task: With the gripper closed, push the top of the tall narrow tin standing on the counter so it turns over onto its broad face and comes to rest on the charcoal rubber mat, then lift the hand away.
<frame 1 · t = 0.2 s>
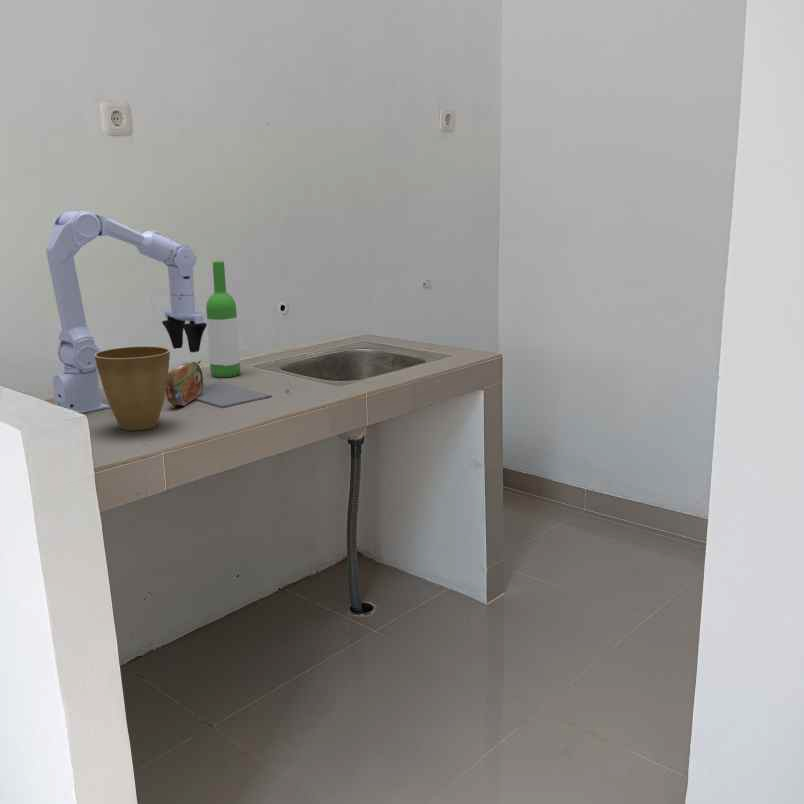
hand: (186, 349, 212), 10 cm above the worktop, tool pointing down, fingers open, 7 cm apart
mat: (220, 394, 208), on the worktop
plant pot: (139, 427, 182), on the worktop
wine bottle: (225, 375, 230), on the worktop
tin: (186, 401, 201), on the worktop, touching mat
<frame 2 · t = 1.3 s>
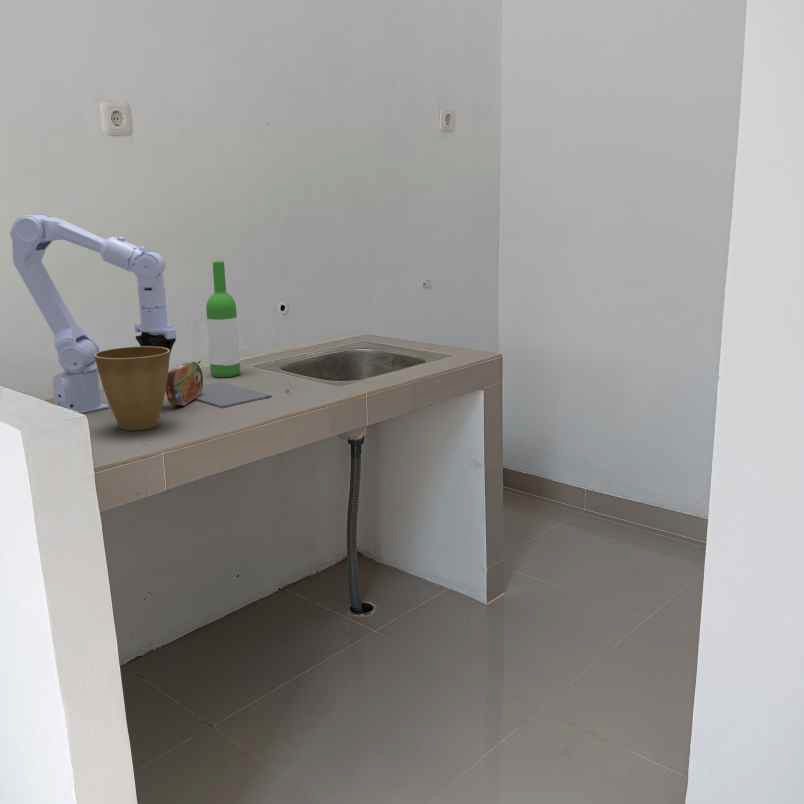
hand: (158, 366, 195), 9 cm above the worktop, tool pointing down, fingers open, 4 cm apart
nothing on the worktop moved.
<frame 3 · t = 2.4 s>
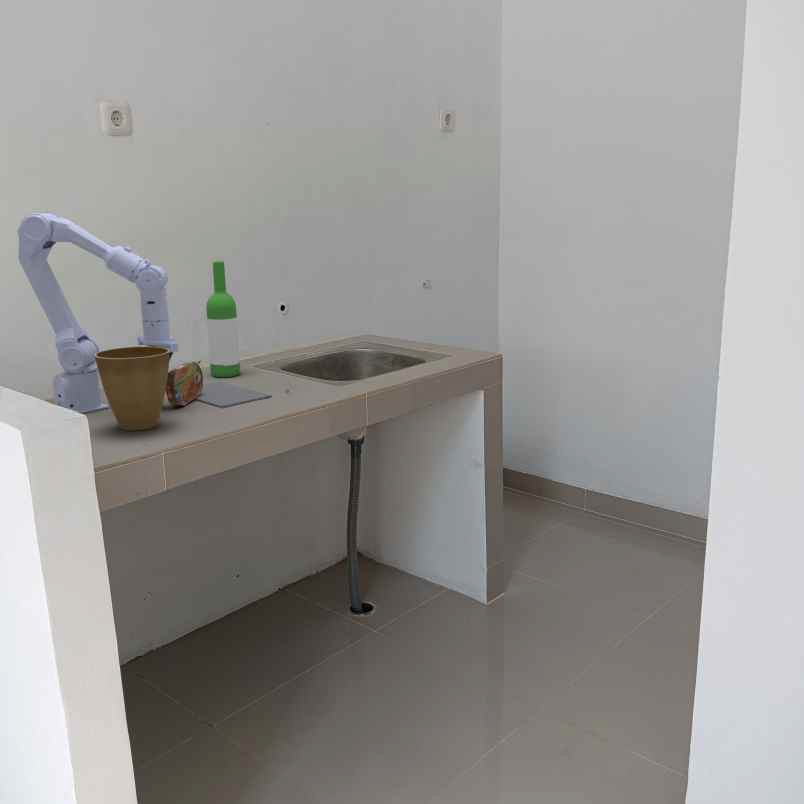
hand: (160, 379, 196), 6 cm above the worktop, tool pointing down, fingers closed
tin: (186, 401, 201), on the worktop, touching gripper, mat
everything else where it was.
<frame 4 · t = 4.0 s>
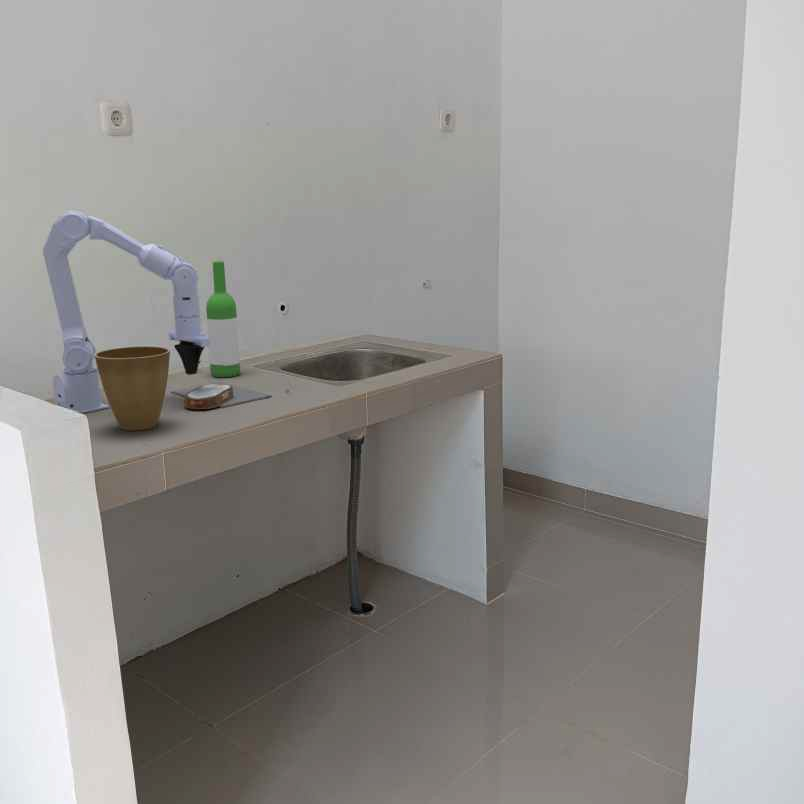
hand: (191, 373, 201), 6 cm above the worktop, tool pointing down, fingers closed
tin: (191, 393, 201), point 2 cm above the worktop, touching mat
everything else where it was.
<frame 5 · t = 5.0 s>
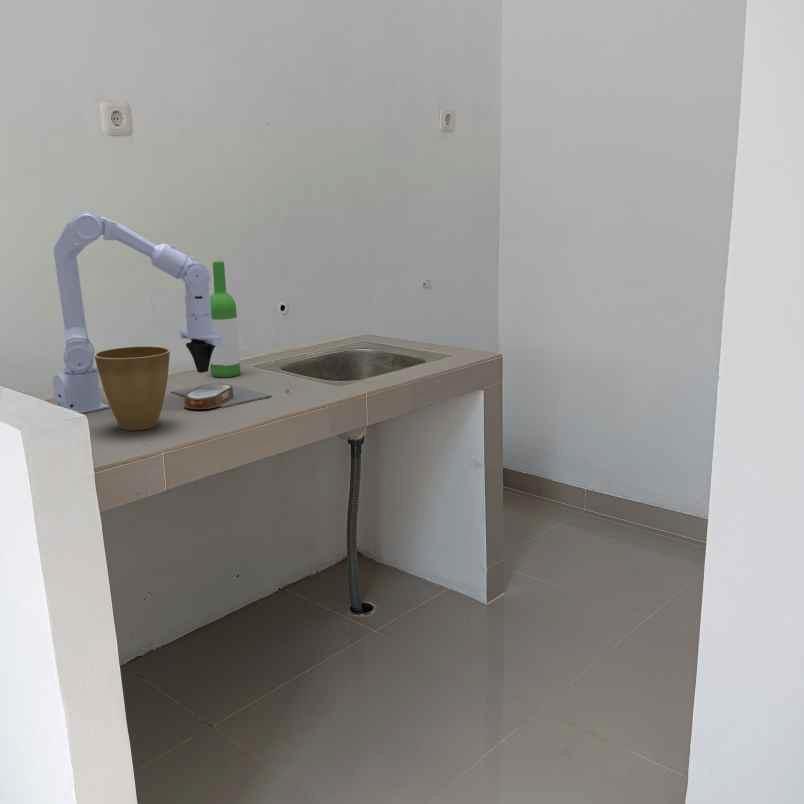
hand: (202, 371, 203), 6 cm above the worktop, tool pointing down, fingers closed
nothing on the worktop moved.
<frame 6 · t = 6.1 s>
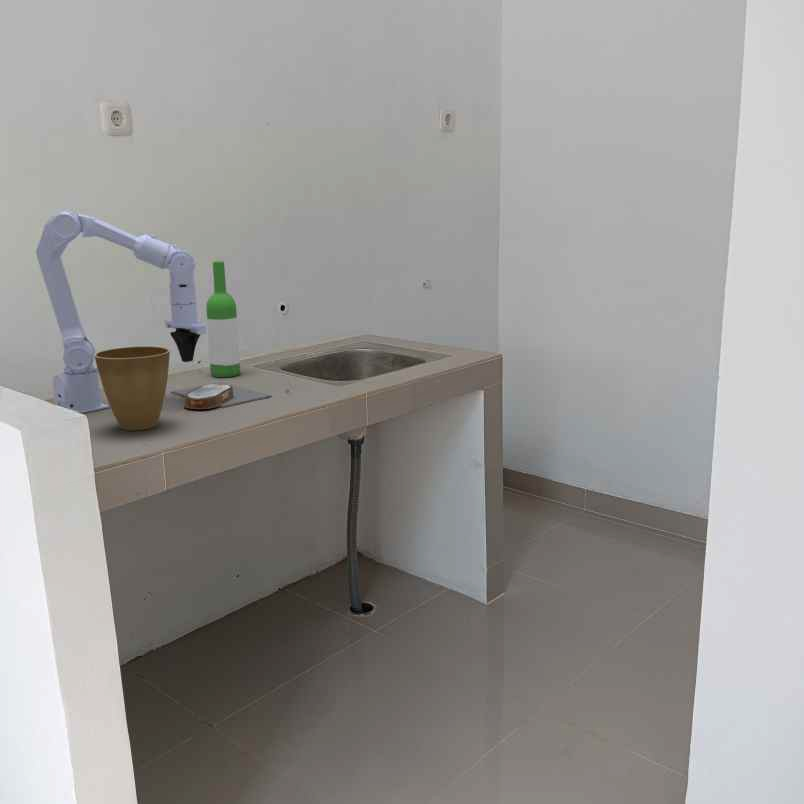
hand: (187, 361, 201), 9 cm above the worktop, tool pointing down, fingers closed
nothing on the worktop moved.
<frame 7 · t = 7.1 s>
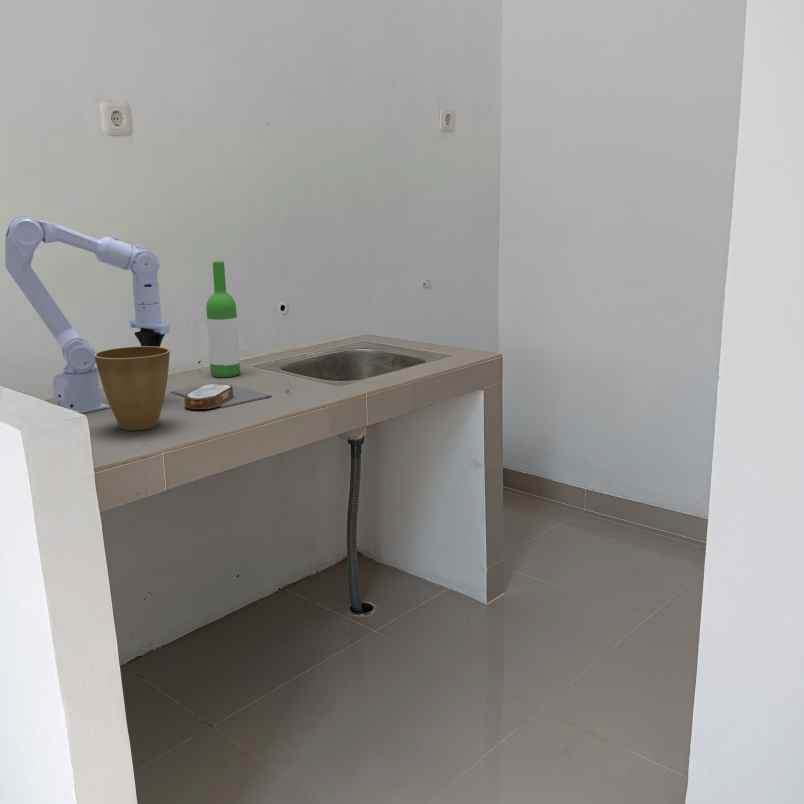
hand: (152, 361, 201), 9 cm above the worktop, tool pointing down, fingers closed
nothing on the worktop moved.
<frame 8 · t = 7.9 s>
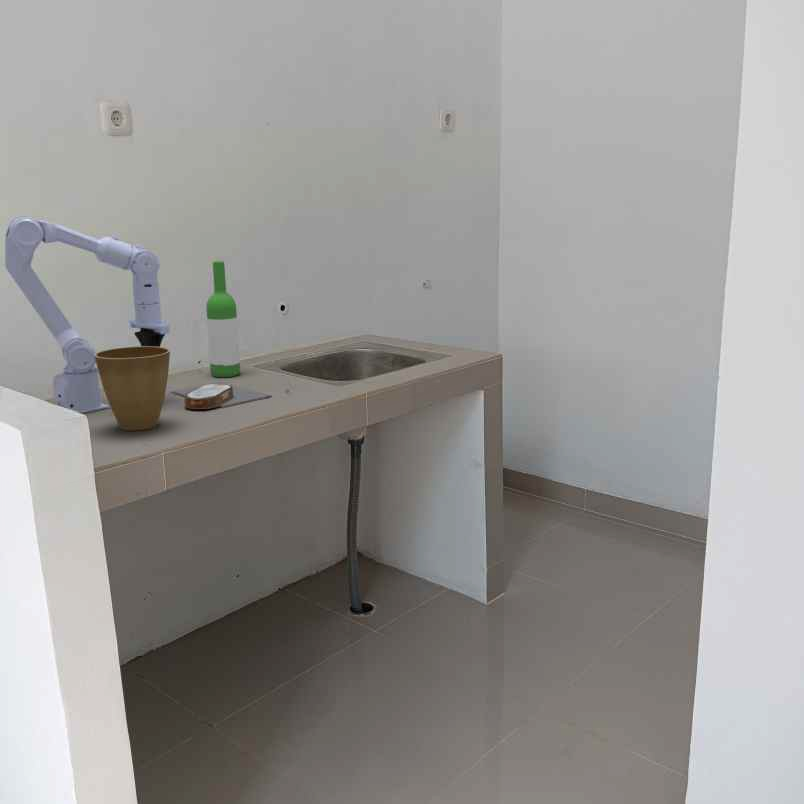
hand: (152, 361, 201), 9 cm above the worktop, tool pointing down, fingers closed
nothing on the worktop moved.
at the end: tin tilted 94°; tin touching mat; tin inside the target area (4.4 cm from its centre), point 2.0 cm above the worktop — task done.
